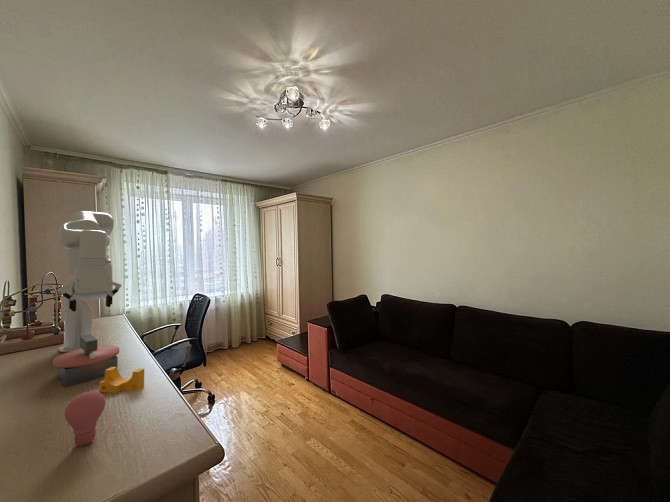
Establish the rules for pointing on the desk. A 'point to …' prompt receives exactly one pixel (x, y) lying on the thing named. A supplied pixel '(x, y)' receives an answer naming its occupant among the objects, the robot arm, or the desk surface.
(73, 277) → the robot arm
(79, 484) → the desk surface
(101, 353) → the handwheel
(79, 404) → the light bulb
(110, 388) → the pipe clamp
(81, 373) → the block
